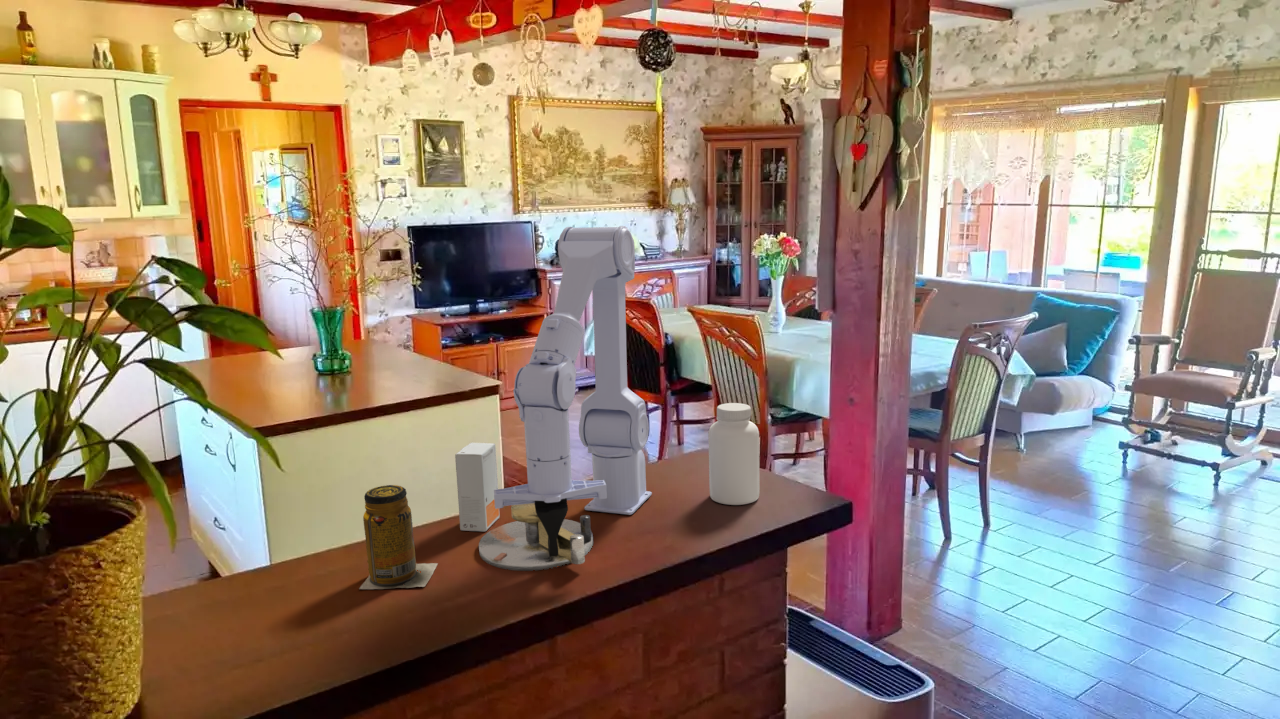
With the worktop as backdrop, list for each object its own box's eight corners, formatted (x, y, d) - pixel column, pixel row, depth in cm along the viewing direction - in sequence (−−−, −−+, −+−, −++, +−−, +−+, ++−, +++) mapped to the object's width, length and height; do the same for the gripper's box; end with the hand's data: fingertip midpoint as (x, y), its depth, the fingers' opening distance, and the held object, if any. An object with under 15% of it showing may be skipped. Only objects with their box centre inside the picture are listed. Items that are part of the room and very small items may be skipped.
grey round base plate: (513, 519, 133) (512, 491, 132) (610, 530, 128) (609, 501, 127) (457, 562, 119) (454, 531, 118) (563, 577, 113) (561, 544, 112)
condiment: (376, 566, 119) (367, 482, 116) (438, 564, 119) (431, 480, 116) (358, 591, 112) (349, 502, 109) (424, 589, 111) (416, 500, 109)
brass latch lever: (504, 536, 124) (502, 505, 123) (543, 524, 127) (541, 494, 126) (561, 570, 112) (559, 536, 111) (601, 556, 116) (600, 523, 115)
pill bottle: (761, 489, 142) (761, 400, 139) (756, 508, 135) (756, 414, 132) (713, 487, 144) (711, 399, 141) (706, 505, 136) (704, 412, 133)
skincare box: (486, 532, 129) (481, 454, 126) (459, 531, 130) (453, 454, 127) (501, 517, 135) (496, 442, 132) (475, 515, 135) (469, 441, 133)
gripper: (492, 469, 108) (498, 571, 111) (608, 459, 110) (612, 559, 113) (491, 452, 115) (497, 549, 117) (600, 443, 117) (604, 538, 120)
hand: (553, 553), depth 116 cm, fingers closed, pressing on brass latch lever
